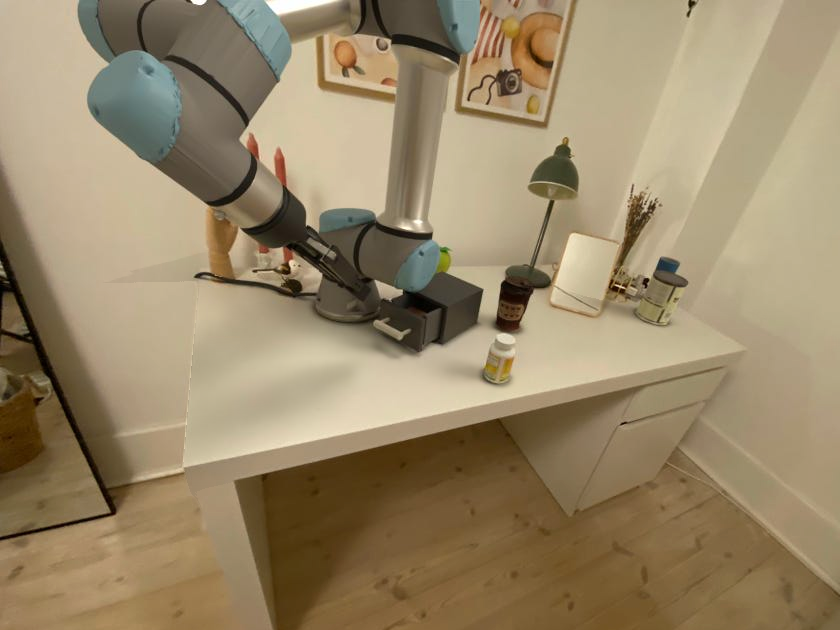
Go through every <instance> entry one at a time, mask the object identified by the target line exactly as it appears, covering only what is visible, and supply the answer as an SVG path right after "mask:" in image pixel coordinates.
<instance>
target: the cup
mask: <svg viewBox="0 0 840 630" xmlns="http://www.w3.org/2000/svg"><path fill="white" fill-rule="evenodd" d="M680 265H681V262H680V261H679V260H677V259H675V258H672V257H669V256H659V259H658V261H657V263H656V265H655V266H656V267H655V269H654V271H656V270H661V271H667V272H671V273H674V274H677V271H678V269H679V267H680Z"/></svg>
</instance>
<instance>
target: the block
mask: <svg viewBox="0 0 840 630" xmlns="http://www.w3.org/2000/svg"><path fill="white" fill-rule="evenodd" d="M407 310H409V311H411V312H413V313H415V314H417V315H419V316H421V317H423V318H424V315H425V314H427V313H425V312H423V311H421V310H419V309H417V308H415V307H413V306H412V307H409V308H407Z"/></svg>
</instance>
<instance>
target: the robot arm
mask: <svg viewBox="0 0 840 630" xmlns="http://www.w3.org/2000/svg"><path fill="white" fill-rule="evenodd" d="M76 10H77V11H76V13H77V19H78V23H79V27H80V29H81V31H82V33H83V35H84V37H85V39H86V41H87V42H88V43H89V45H90V47H91V48H92V50H94V51H95V52H96V54H97V55H98V56H99V57H100V58H101V59H102V60H103V61H105V62H106V63H107V64H108V65H107V66H105V67H103V68H101V69H100V71H98V73H97V74H96V75H95V76H94V78H93V80H92V82H91V83H90V85H89V87H88V89H87V95H86V102H87V108H88V110H89V113H90V114H91V116H92V118H93V119H94V121H96V123H98V124H99V125H100V126H101V127H103V129H105V130H106V131H107V132H108V133H110V134H111V135H112V136H113V137H115V138H116V140H118V141H119V142H121V143H122V144H123V145H125V147H127V148H129V149H130V151H132V152H134V154H135V155H136V156H137V157H138V158H139V159H141V160H143V161H146V162H147V163H149V164H150V165H151V166H153V167H154V168H155V169H157V170H159V171H160V173H162V174H164V175H165V176H167V177H168V178H170V179H171V180H172V181H174V182H175V183H176V184H177V185H178V186H180V187H182V188H183V189H185V190H186V191H188V192H189V193H190V194H192V195H193V196H194V197H196V198H197V199H199V200H200V201H202V202H203V203H204V204H206V205H207V206H208V207H210V208H211V209H213V210H215V211H214V212H213V218H215V219H216V220H218V221H223V220H224V219H226V220H227V221H228V222H230V223H231V224H232V225H234V226H236V227H238V228H239V229H240V230H241V231H242V232H243V233H244V234H246V235H247V236H248V237H250V238H251V239H252V240H254V241H255V242H256V243H258V244H259V245H261V246H263V247H264V248H266V249H272V250H273V249H281V248H285V249H287V250H289V251H290V252H292V253H294V255H296V256H297V257H299V258H301V259H302V260H304V261H305V262H306V263H307V264H309V265H310V266H312V267H313V268H314V269H316V270H317V271H318V273H320V274H321V279H320V283H319V286H318V289H317V292H295V293H292V292H293V291H289V290H286V289H284V288H281V287H279V286H277V285H274V284H272V283H267V282H263V281H262V282H261V281H255V280H246V279H245V280H244V279H237V278H230V277H225V276H222V277H219V276H220V275H219V276H215V275H214V274H215V273H213V272H209V271H200V272H198V273H195V275H194V276H193V278H194V279H198V278H200V277H211V278H214V279H217V280H220V281H223V282H227V283H232V284H233V283H234V284H240V285H250V286H251V285H252V286H260V287H265V288H269V289H272V290H275V291H277V292H279V293H283V294H285V295H288V296H292V297H315V298H314V300H315V301H314V303H315V309H316V312H317V313H318V314H319V315H320V316H322V317H324V318H325V319H328V320H331V321H334V322H340V323H360V322H366V321H370V320H372V319H374V318H376V317H378V316H380V300H381V299H382V298H381V295H380V292H379V289H378V286H377V283H376V281H377V282H379V283H383V284H385V285H388V286H390V287H393V288H394V289H396V290H399V291H400V290H401V291H403V290H405V291H408V292H418V291H420V290H422V289H423V288H424V287H426V286H427V284H428V283H429V282H430V280H431V279H432V278H433V276H434V274H435V272H436V270H437V267H438V264H439V260H440V254H441V252H440V247H441V246H440V244H439V243H438V242H436V240H433V236H434V231H435V230H434V228H433V226H432V224H431V223H430V221H429V213H430V205H431V200H432V199H431V198H432V194H433V193H432V192H433V185H434V178H435V171H436V165H437V159H438V152H439V151H438V150H439V146H440V137H441V131H442V126H443V125H442V124H443V117H444V111H445V104H446V99H447V98H446V97H447V92H448V91H447V90H448V84H449V80H450V78H451V77H453V75H454V74H455V73H456V72H458V71H459V70H460V64H461V58H462V56H465V55H467V54H470V53H471V52H472V51H473V50H474V48H475V45H476V43H477V41H478V37H479V32H480V25H481V24H480V23H481V0H78V3H77V9H76ZM332 33H333V34H334V35H336V36H338V37H342V38H346V37H352V36H355V35H363V36H371V37H376V38H382V39H386V40H390V51H391V52H392V54H393V56H394V58H395V59H396V62H397V64H398V67H397V78H396V85H395V86H396V87H395V97H394V108H393V121H392V130H391V141H390V151H389V159H388V160H389V161H388V171H387V183H386V193H385V203H384V210H383V212H382V213H380V214H379V215H378V216H376V213H375V212H374V211H373V210H370V209H366V208H358V207H357V208H356V207H339V208H338V207H337V208H331V209H327V210H324V211H323V212H321V213H320V214H319V218H318V231H317V230H316V229H314V228H313V227H312V226H310V225H309V224H307V210H306V207H305V205H304V204H303V202H302V201H301V200H300V199H299V198H298V197H296V195H294V193H292V191H290V189H289V188H288V187H286V185H284V184H282V182H281V180H280V179H279V177H277V176H276V175H275V174H274V173H273V172H272V171H271V170H270V169H269V168H268V167H267V166H266V165H265V164H264V163H263V162H262V161H261V160H260V159H259V158H258V157H257V156H256V155H255V154H254V153H253V152H251V151H250V150H249V148H247V147H246V146H245V144H243V142H242V141H241V140H240V139H241V137H242V136H243V134H244V133H245V131H246V129H247V128H248V127H249V125H250V123H251V121H252V120H253V118H254V117H255V116H256V114H257V113H258V111H259V109H260V108H261V107H262V105H263V104H264V103H265V101H266V100H267V98H268V97H269V96H270V94H271V93H272V91H273V90H274V88H275V87H276V86H277V84H279V83H280V82H281V76H282V74H283V72H284V70H285V68H286V67H287V65H288V64H289V61H290V60H291V59H292V58H291V57H292V53H293V47H292V46H293V45H295V44H300V43H302V42H306V41H308V40H312V39H315V38H318V37H323V36H325V35H326V36H327V35H329V34H332ZM212 273H213V274H212Z"/></svg>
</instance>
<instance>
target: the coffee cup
mask: <svg viewBox="0 0 840 630" xmlns="http://www.w3.org/2000/svg"><path fill="white" fill-rule="evenodd" d="M533 285H534V282H533V281H532V280H530V279H528V278H527V277H523V276H516V275H511V276H505V278H504V280H503V281H501V282H500V289H499V296H498V303H497V308H496V309H497V310H496V319H495V326H496V327H497V328H498V329H500V330H502V331H505V332H518V331H519V330H520V326H521V325H520V324H521V322H522V319H523V317H524V315H525V313H526V311H527V309H528V305H529V302H530V299H531V296H532V295H533V294H534V292H535V289H534V288H535V287H533Z"/></svg>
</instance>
